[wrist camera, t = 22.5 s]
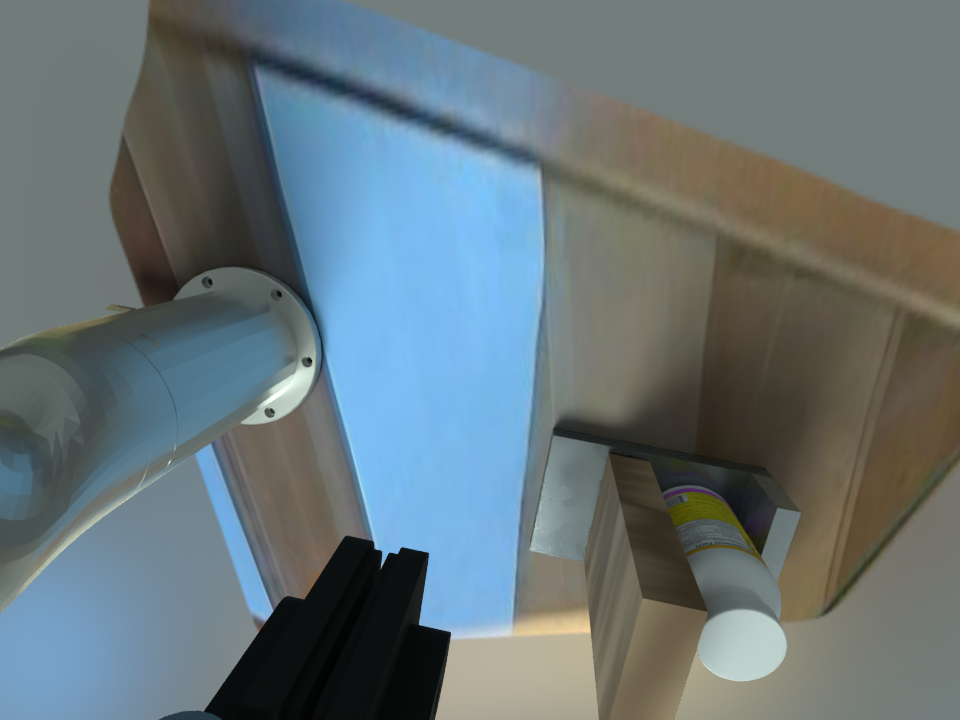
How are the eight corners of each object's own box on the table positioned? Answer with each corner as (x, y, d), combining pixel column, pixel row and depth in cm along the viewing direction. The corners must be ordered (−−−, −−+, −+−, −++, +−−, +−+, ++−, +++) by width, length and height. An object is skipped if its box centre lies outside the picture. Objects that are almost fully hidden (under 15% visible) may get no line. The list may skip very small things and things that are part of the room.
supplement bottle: (720, 567, 43) (788, 709, 31) (633, 551, 44) (665, 684, 31) (742, 489, 41) (823, 606, 29) (651, 473, 42) (692, 582, 30)
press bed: (530, 540, 46) (527, 591, 40) (553, 427, 44) (553, 464, 37) (728, 580, 45) (756, 640, 39) (764, 468, 42) (801, 512, 36)
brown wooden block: (583, 557, 44) (601, 747, 29) (608, 453, 42) (642, 598, 26) (622, 565, 44) (661, 760, 28) (649, 461, 42) (708, 612, 26)
